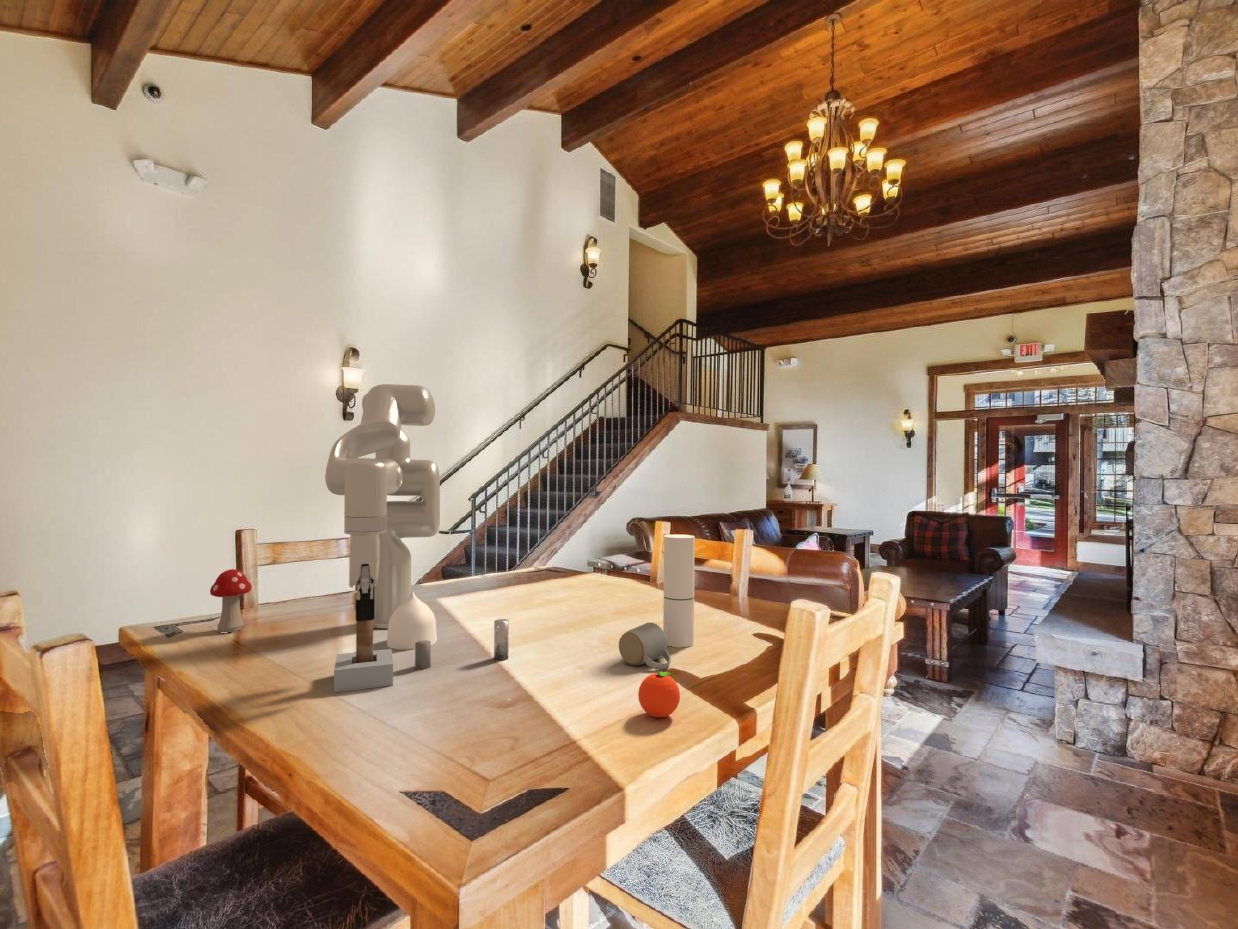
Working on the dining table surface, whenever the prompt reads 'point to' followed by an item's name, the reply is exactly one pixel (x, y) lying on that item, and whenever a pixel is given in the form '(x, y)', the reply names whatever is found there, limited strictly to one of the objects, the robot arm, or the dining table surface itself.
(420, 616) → the teardrop
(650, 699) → the clementine
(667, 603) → the cylindrical container
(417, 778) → the dining table surface
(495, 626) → the medium pin
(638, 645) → the ceramic mug
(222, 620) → the decorative mushroom
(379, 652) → the hole block
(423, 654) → the short pin
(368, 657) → the long pin
